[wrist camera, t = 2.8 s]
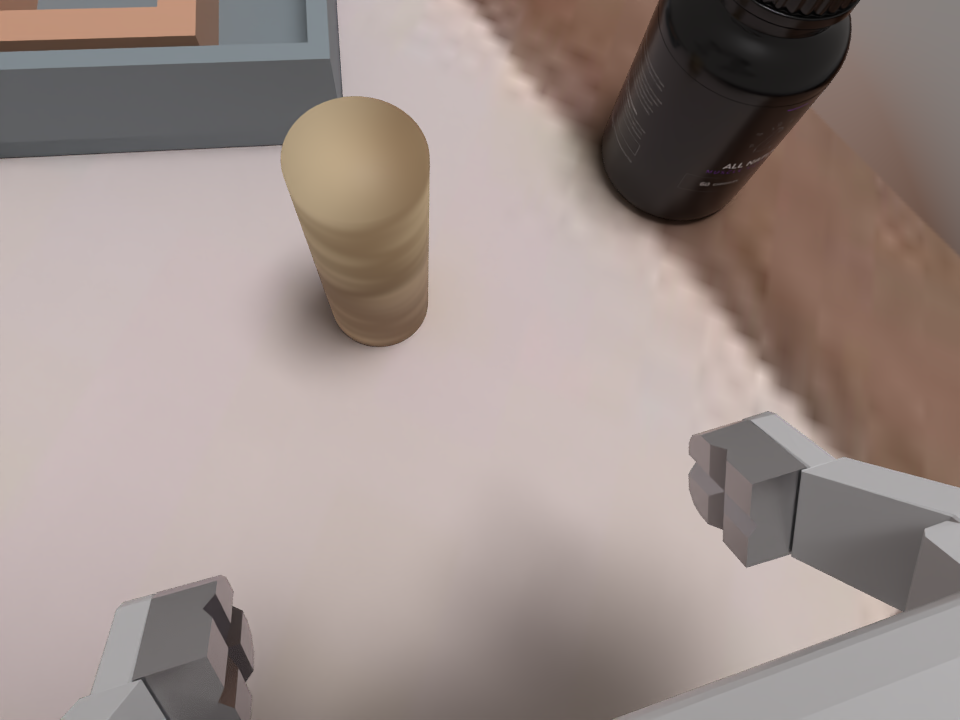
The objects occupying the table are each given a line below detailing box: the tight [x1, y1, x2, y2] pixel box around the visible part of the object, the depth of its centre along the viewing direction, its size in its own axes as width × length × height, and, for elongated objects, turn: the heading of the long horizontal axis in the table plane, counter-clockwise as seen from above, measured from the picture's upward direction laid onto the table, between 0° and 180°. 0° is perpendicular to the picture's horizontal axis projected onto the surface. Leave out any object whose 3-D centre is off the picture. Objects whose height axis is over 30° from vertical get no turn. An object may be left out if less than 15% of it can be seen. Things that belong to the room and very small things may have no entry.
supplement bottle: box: [602, 0, 860, 220], centre depth 25 cm, size 7×7×12 cm
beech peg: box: [281, 96, 430, 347], centre depth 22 cm, size 4×4×10 cm
